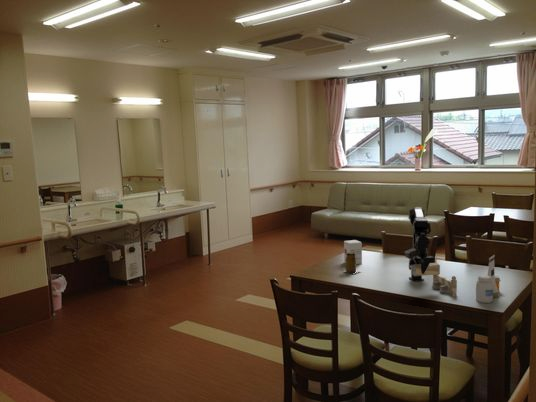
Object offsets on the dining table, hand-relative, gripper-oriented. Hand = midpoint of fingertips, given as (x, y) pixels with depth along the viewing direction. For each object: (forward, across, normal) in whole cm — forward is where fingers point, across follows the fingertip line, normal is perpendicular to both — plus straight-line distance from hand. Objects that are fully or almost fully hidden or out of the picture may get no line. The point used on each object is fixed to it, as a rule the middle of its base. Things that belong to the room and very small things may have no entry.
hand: (421, 272), depth 244 cm
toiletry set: (+11, +15, +29) cm, 35 cm away
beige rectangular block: (+1, 0, +2) cm, 3 cm away
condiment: (+11, -47, -22) cm, 53 cm away
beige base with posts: (+10, 0, +12) cm, 16 cm away
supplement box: (+11, -68, -14) cm, 70 cm away
